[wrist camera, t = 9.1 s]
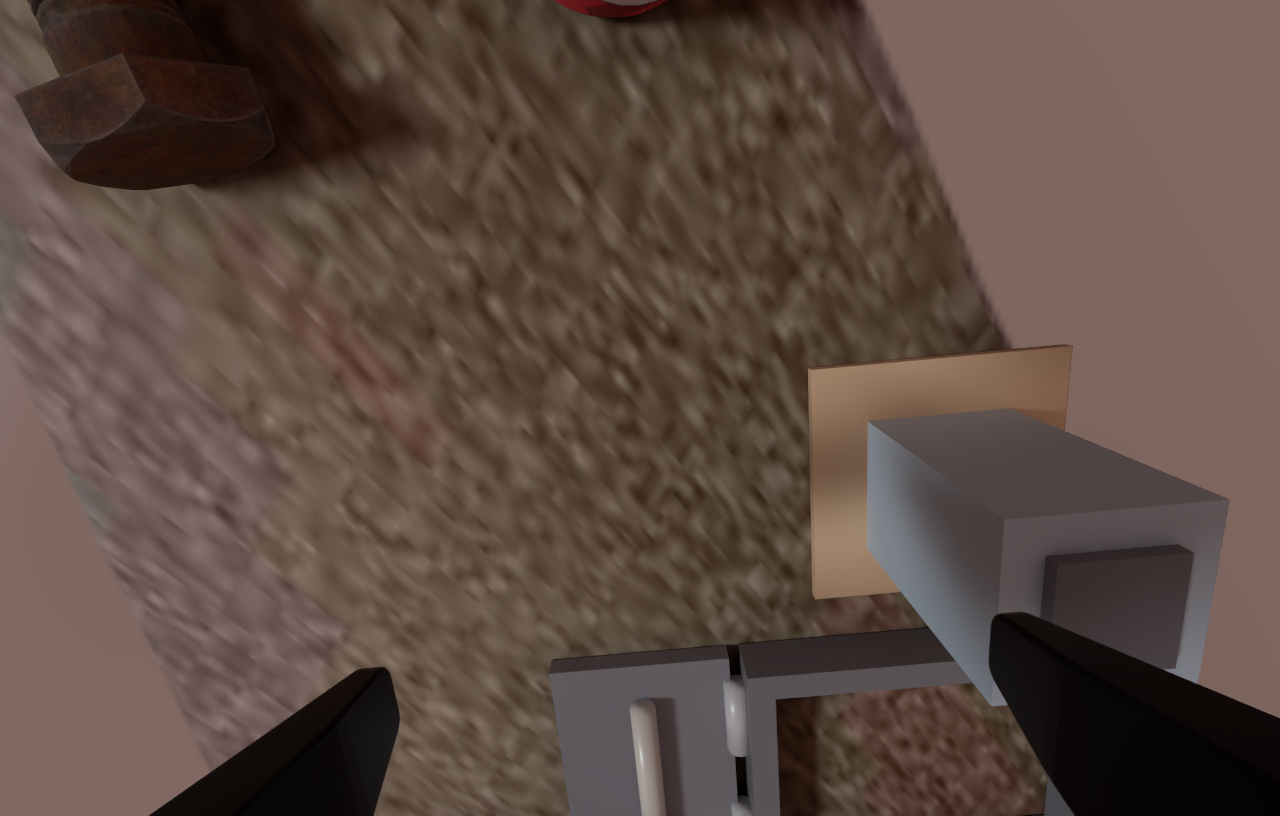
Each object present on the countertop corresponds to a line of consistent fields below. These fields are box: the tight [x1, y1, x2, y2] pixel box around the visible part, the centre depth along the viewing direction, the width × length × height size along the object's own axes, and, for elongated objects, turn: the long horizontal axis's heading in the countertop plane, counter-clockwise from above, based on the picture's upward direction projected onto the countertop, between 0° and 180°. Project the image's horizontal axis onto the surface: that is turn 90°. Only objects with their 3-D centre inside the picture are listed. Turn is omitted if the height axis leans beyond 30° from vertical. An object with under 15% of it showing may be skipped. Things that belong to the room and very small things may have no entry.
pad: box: [808, 344, 1073, 599], centre depth 22 cm, size 9×9×1 cm
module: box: [867, 408, 1229, 706], centre depth 18 cm, size 5×5×8 cm
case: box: [549, 628, 1074, 816], centre depth 24 cm, size 11×22×2 cm, turn 95°
